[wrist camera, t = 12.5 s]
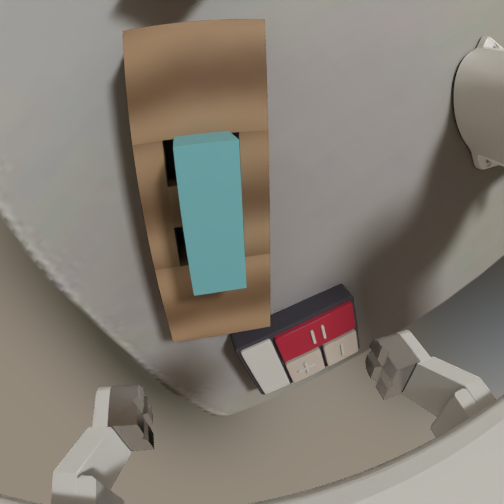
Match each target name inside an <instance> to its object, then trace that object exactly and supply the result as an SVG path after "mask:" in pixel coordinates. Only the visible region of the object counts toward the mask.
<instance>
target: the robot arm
mask: <svg viewBox="0 0 504 504" xmlns="http://www.w3.org/2000/svg"><path fill="white" fill-rule="evenodd" d="M454 112H455V118H456V122H457V126H458V129H459V131H460V134H461V136H462V138H463V140H464V141H465V143H466V144H467V146H468V147H469V149H470V150H471V153H472V158H473V162H474V165H475V167H476V168H478V169H481V170H484V169H488V168H491V167H494V166H498V165H501V166H504V49H503V48H502V47H501V46H500V45H499V44H498V43H497V42H496V41H494V40H493V39H492V38H491V37H487V36H483V37H482V38H481V39H480V41H479V44H478V46H477V48H476V49H475V50H473V51H471V52H470V53H468V54H467V55H466V56H465V57H464V59H463V60H462V62H461V64H460V66H459V68H458V71H457V74H456V78H455V84H454ZM370 348H371V352H370V353H369V354H368V355H367V358H366V369H367V372H368V374H369V376H370V378H372V379H374V380H376V381H377V384H376V388H377V390H378V391H379V393H380V395H381V396H382V398H383V400H384V399H387V398H390V397H393V396H395V395H398V394H401V393H402V395H404V396H406V397H407V398H409V399H410V400H412V401H413V402H415V403H416V404H418V405H420V406H421V407H423V408H424V409H426V410H427V411H429V412H430V413H432V414H433V415H435V416H437V419H436V420H435V421H434V422H433V424H432V425H431V430H432V432H433V434H434V436H435V437H436V438H434V439H433V440H431V441H429V442H427V443H425V444H423V445H421V446H419V447H417V448H415V449H414V450H411V451H409V452H407V453H405V454H403V455H401V456H399V457H396V458H394V459H392V460H390V461H387V462H385V463H383V464H380V465H378V466H376V467H373V468H371V469H368V470H366V471H363V472H360V473H358V474H355V475H353V476H350V477H347V478H344V479H341V480H338V481H335V482H332V483H329V484H326V485H323V486H319V487H316V488H313V489H309V490H306V491H302V492H299V493H294V494H291V495H287V496H282V497H278V498H274V499H269V500H264V501H259V502H255V503H249V504H504V395H502V396H501V397H499V398H498V399H497V400H496V398H495V397H494V396H493V394H492V393H491V392H490V390H489V389H488V388H487V386H486V385H485V384H484V382H483V381H482V380H481V378H480V377H477V376H475V375H473V374H471V373H469V372H466V371H464V370H462V369H460V368H458V367H455V366H453V365H451V364H449V363H446V362H444V361H442V360H440V359H438V358H436V357H430V356H429V355H428V353H427V352H426V351H425V350H424V348H423V347H422V346H421V344H420V343H419V342H418V341H417V339H416V338H415V337H414V336H413V334H412V333H411V332H410V331H409V330H403V331H400V332H397V333H393V334H390V335H387V336H384V337H381V338H378V339H375V340H373V341H372V342H371V344H370ZM152 423H153V414H152V408H151V405H150V402H149V400H148V398H147V397H145V396H144V390H143V388H142V386H141V385H125V386H102V387H98V389H97V391H96V397H95V406H94V416H93V425H92V427H88V428H87V430H86V431H85V432H84V433H83V435H82V436H81V437H80V439H79V440H78V441H77V442H76V443H75V445H74V446H73V447H72V449H71V450H70V451H69V452H68V454H67V455H66V456H65V457H64V459H63V460H62V461H61V463H60V464H59V465H58V467H57V468H56V469H55V470H54V472H53V483H52V499H51V504H124V500H123V499H122V498H121V497H119V496H118V495H117V494H115V493H114V492H112V491H111V488H112V486H113V484H114V483H115V481H116V479H117V477H118V475H119V474H120V472H121V470H122V468H123V466H124V465H125V463H126V461H127V459H128V457H129V456H130V454H131V451H139V450H152V449H154V437H153V436H154V435H153V432H152V430H151V428H150V426H151V424H152ZM0 504H41V503H36V502H31V501H27V500H23V499H18V498H14V497H10V496H6V495H3V494H0Z"/></svg>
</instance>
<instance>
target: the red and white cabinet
mask: <svg viewBox="0 0 504 504" xmlns="http://www.w3.org/2000/svg"><path fill="white" fill-rule="evenodd" d="M230 336H231V339H232V342H233V345H234V348H235V351H236V353H237V355H238V357H239V358H240V360H241V362H242V363H243V365H244V366H245V368H246V370H247V371H248V373H249V375H250V376H251V378H252V380H253V381H254V383H255V384H256V386H257V388H258V389H259V391H260V392H261V394H268V393H270V392H273V391H275V390H277V389H279V388H282V387H284V386H286V385H288V384H290V383H292V382H294V383H295V382H298V381H300V380H302V379H304V378H306V377H308V376H311V375H313V374H315V373H317V372H319V371H321V370H323V369H324V368H325V367H326V366H331V365H333V364H335V363H337V362H339V361H341V360H343V359H345V358H347V357H348V356H350V355H352V354H354V353H356V352H357V351H358V349H359V339H358V330H357V322H356V314H355V307H354V299H353V296H352V295H351V293H350V292H349V291H348V290H347V289H346V288H345V287H344V285H343V284H339V285H337V286H335V287H333V288H330V289H328V290H326V291H324V292H321V293H319V294H317V295H315V296H312V297H310V298H308V299H305V300H303V301H301V302H299V303H297V304H295V305H292V306H290V307H288V308H286V309H284V310H282V311H279V312H277V313H275V314H273V315H271V316H270V327H264V328H259V329H253V330H248V331H242V332H236V333H230Z"/></svg>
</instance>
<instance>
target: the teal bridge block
mask: <svg viewBox="0 0 504 504" xmlns="http://www.w3.org/2000/svg"><path fill="white" fill-rule="evenodd" d="M173 152H174V161H175V170H176V178H177V186H178V194H179V202H180V210H181V217H182V224H183V231H184V238H185V244H186V251H187V257H188V263H189V270H190V276H191V281H192V287H193V293H194V296H196V295H203V294H210V293H216V292H223V291H229V290H236V289H242V288H247V285H246V267H245V248H244V229H243V210H242V190H241V170H240V149H239V139H238V138H237V137H235V136H234V135H233V134H232V133H231V132H230V131H223V132H212V133H202V134H193V135H185V136H177V137H174V141H173Z"/></svg>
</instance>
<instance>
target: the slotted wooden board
mask: <svg viewBox="0 0 504 504" xmlns="http://www.w3.org/2000/svg"><path fill="white" fill-rule="evenodd" d="M123 52H124V68H125V82H126V93H127V104H128V114H129V123H130V131H131V139H132V147H133V154H134V161H135V168H136V174H137V181H138V187H139V193H140V198H141V204H142V210H143V215H144V220H145V226H146V231H147V236H148V240H149V245H150V250H151V255H152V259H153V264H154V268H155V273H156V277H157V281H158V285H159V289H160V294H161V298H162V302H163V305H164V309H165V313H166V317H167V321H168V324H169V328H170V332H171V335H172V339H173V342H177V341H184V340H191V339H198V338H205V337H211V336H218V335H224V334H230V333H236V332H242V331H248V330H253V329H259V328H264V327H270V196H269V142H268V101H267V68H266V40H265V20H264V19H226V20H204V21H191V22H180V23H171V24H162V25H155V26H148V27H142V28H136V29H130V30H125V31H123ZM223 131H230V132H231V133H232V134H233V135H234V136H235V137H237V138H238V139H239V149H240V170H241V190H242V210H243V229H244V248H245V267H246V285H247V288H242V289H236V290H229V291H223V292H216V293H210V294H203V295H196V296H194V293H193V287H192V281H191V276H190V270H189V263H188V257H187V251H186V244H185V238H184V231H183V224H182V217H181V210H180V202H179V194H178V186H177V178H176V170H175V161H174V152H173V141H174V137H177V136H185V135H193V134H202V133H212V132H223Z"/></svg>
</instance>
